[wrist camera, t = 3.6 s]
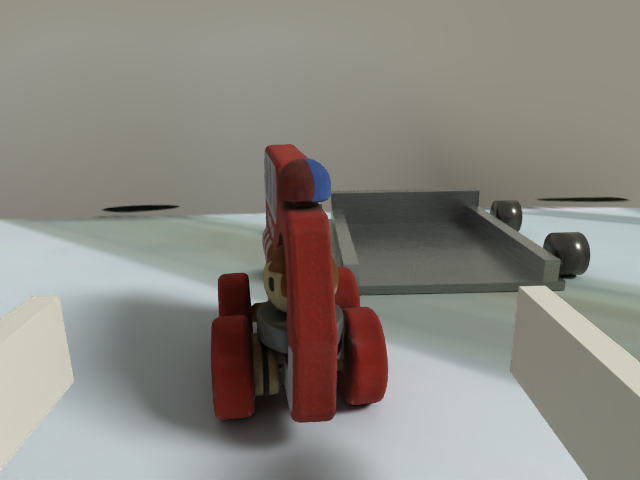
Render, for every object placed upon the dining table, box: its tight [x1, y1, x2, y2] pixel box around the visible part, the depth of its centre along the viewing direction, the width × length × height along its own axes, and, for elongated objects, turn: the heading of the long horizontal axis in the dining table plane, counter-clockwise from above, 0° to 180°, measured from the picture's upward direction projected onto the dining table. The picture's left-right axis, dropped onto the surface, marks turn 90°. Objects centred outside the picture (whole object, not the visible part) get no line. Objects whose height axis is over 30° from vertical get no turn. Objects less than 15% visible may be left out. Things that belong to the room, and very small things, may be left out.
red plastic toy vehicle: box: [211, 144, 388, 422], centre depth 22 cm, size 7×12×10 cm, turn 9°
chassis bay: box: [319, 188, 590, 295], centre depth 40 cm, size 20×18×4 cm
